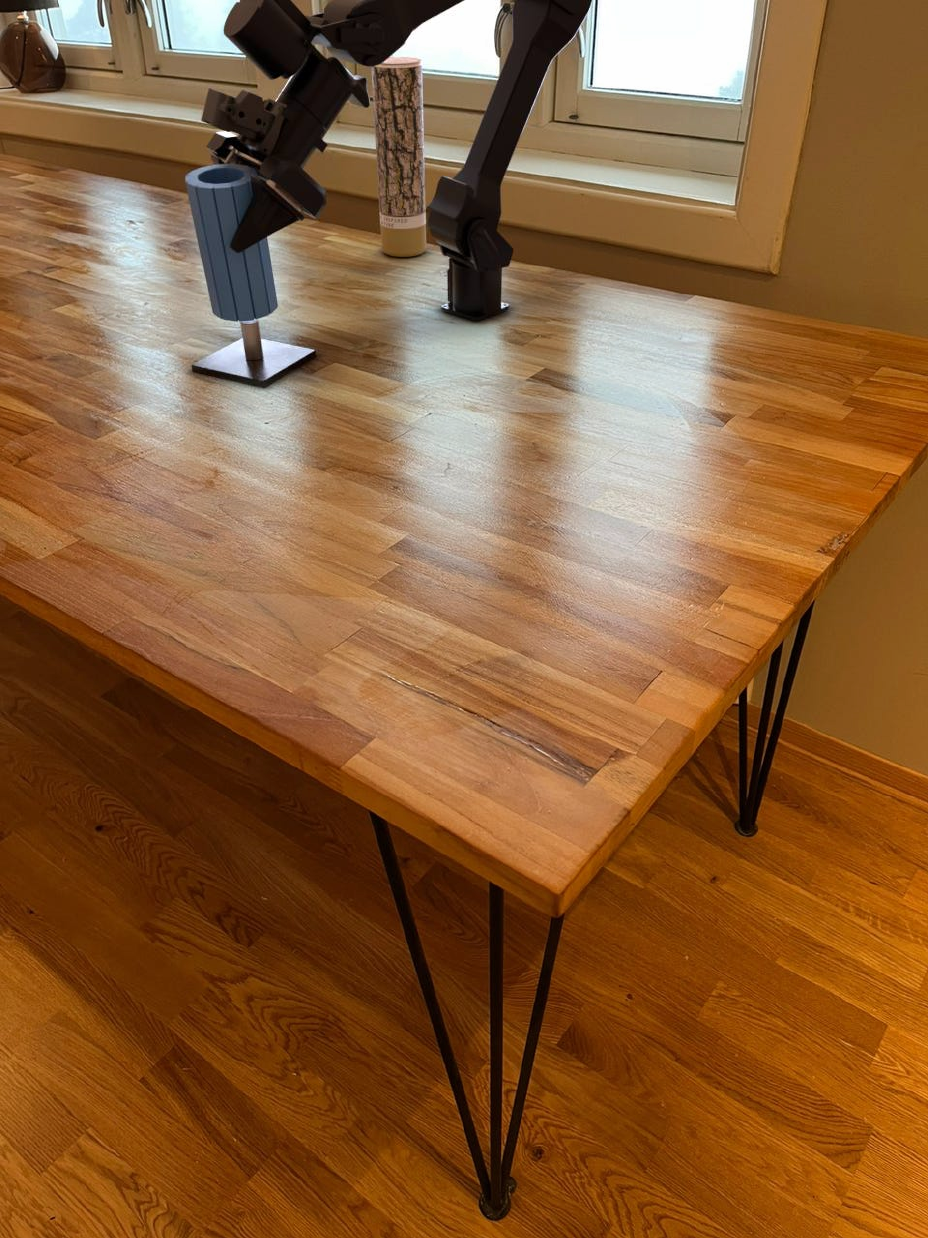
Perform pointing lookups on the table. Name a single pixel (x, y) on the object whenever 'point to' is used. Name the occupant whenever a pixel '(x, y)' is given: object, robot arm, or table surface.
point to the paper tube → (400, 155)
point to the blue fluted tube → (217, 212)
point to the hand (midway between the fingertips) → (220, 241)
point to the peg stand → (254, 359)
